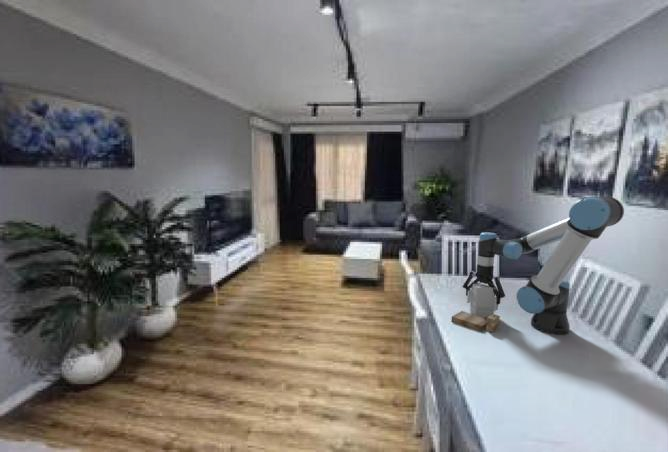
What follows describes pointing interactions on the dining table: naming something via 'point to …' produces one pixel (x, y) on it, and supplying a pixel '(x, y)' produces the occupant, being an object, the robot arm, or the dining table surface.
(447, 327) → the dining table surface
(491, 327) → the bench dog
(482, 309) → the supplement box
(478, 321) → the brown wooden slab
